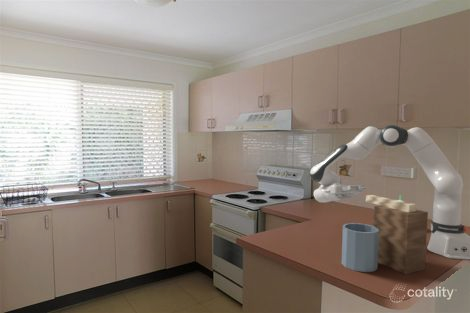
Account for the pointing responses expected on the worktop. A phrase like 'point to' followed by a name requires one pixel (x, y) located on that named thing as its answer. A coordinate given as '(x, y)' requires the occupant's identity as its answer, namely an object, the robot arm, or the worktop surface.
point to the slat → (391, 203)
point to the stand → (401, 238)
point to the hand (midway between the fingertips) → (358, 187)
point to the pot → (360, 247)
